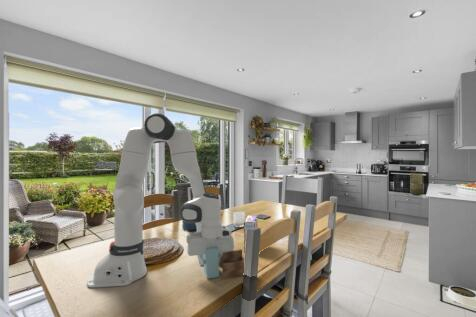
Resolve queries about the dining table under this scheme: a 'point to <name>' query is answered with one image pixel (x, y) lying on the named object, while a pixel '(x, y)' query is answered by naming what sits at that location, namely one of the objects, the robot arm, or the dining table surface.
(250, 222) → the candy box
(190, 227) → the canister
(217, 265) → the teal block
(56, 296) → the dining table surface
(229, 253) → the walnut rack
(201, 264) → the slate coaster
